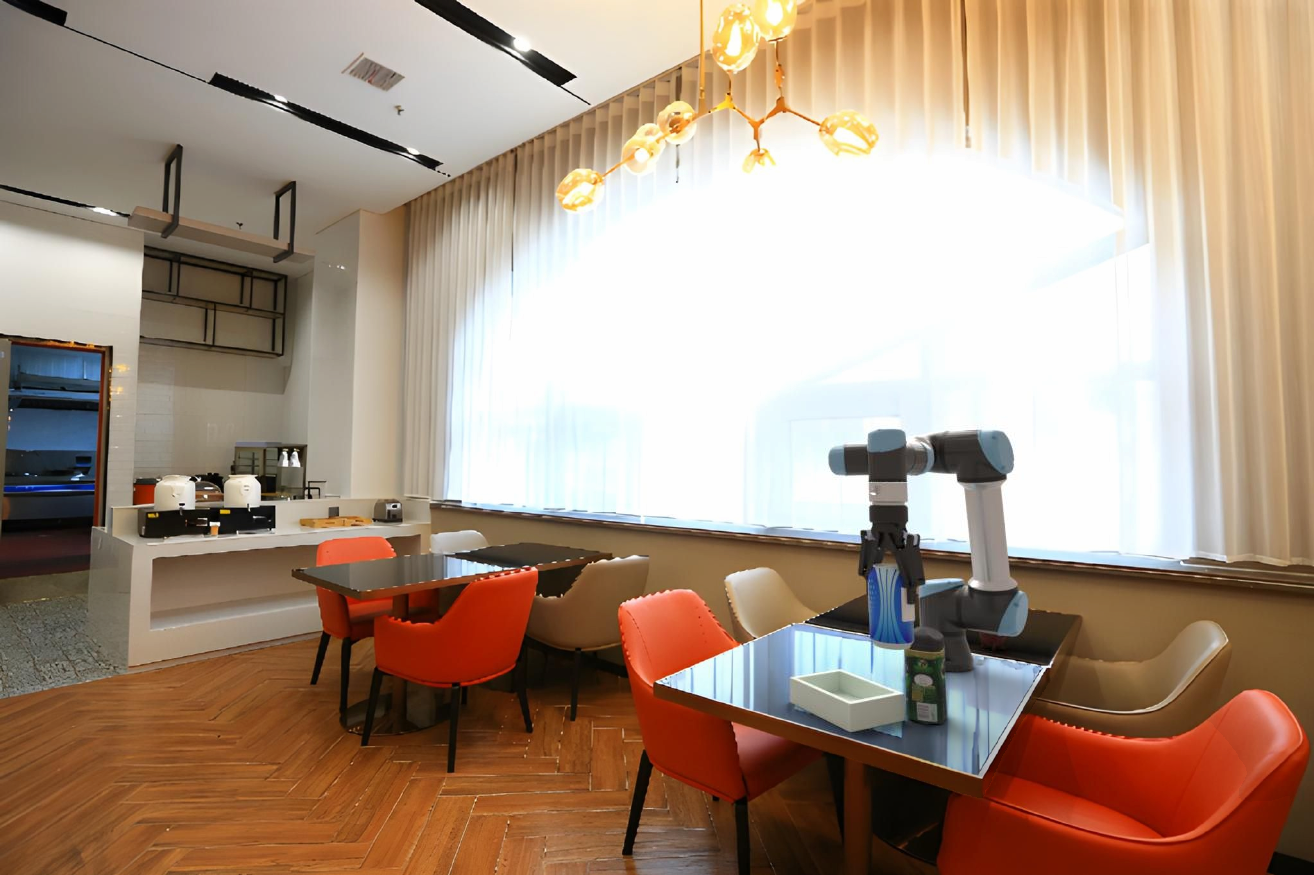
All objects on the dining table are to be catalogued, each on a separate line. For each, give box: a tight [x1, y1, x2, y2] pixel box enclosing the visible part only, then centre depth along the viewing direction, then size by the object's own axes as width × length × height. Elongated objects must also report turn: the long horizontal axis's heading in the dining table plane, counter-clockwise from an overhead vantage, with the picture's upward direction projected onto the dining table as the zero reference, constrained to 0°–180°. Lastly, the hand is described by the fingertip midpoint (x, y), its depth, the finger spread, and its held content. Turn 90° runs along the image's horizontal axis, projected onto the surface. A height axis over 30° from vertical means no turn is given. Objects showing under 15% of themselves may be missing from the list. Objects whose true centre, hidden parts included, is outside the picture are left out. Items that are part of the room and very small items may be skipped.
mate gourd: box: [978, 631, 1006, 652], centre depth 192 cm, size 8×8×15 cm
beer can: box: [868, 563, 915, 651], centre depth 128 cm, size 8×8×16 cm
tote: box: [789, 668, 906, 733], centre depth 139 cm, size 15×19×6 cm
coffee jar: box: [903, 626, 948, 725], centre depth 135 cm, size 10×8×19 cm
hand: (891, 616), depth 128 cm, fingers closed on beer can, 8 cm apart
